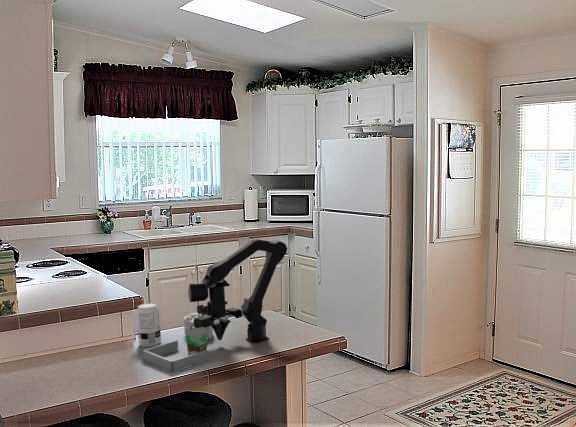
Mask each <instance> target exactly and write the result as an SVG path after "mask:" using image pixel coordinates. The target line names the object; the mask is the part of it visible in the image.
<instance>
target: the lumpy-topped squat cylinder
mask: <svg viewBox="0 0 576 427" xmlns="http://www.w3.org/2000/svg"><path fill="white" fill-rule="evenodd" d="M200 316H202V314H198V313H197V312H191V313H189V314H187V315H184V317H183V327H184V330H185V329H190V327H191V326H193V325H194V319H195V318H197V317H200ZM204 316H205V317H211V316H207V314H206V315H204ZM208 328H209V329H208V331H207V338H210V337H211V336H212V337H214V330H213V328H212V326H211V325H210V326H209V327H208ZM212 337H211V338H212ZM211 338H210V339H211Z"/></svg>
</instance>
